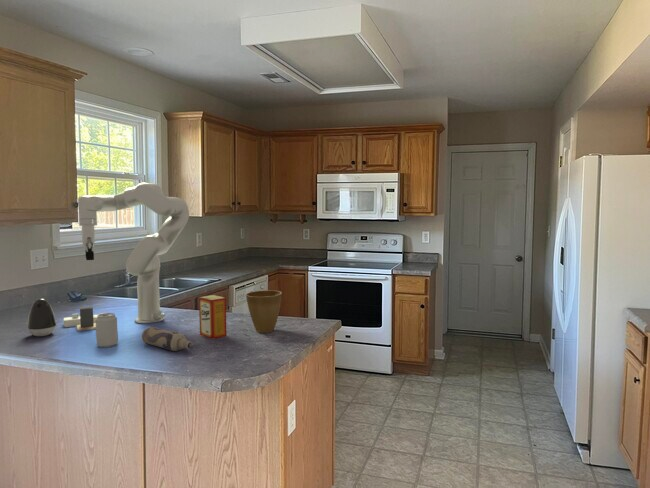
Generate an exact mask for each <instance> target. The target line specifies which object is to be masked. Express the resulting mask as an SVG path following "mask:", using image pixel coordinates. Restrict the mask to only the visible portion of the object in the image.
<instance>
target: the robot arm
mask: <svg viewBox="0 0 650 488" xmlns="http://www.w3.org/2000/svg"><path fill="white" fill-rule="evenodd" d="M77 198H78V199H77V203H78V204H77V205H78V223H79V227H81V241H82V242H81V244H82V247H83V248H85V251H84V252H85V260H86V261H93V260H95V251H94V246H95V242H96V241H95V238H96V237H95V235H96V234H95V226H98V216H97V212H99V213H100V212H102V213H103V212H115V211H120V210H125V209H128V208H132V207H138V206H142V205H143V206H144V207H146V208H148V209H149V210H150V211H152V212H154V213H156V214H157V215H158V216H161V217H168V218H167V219H166V220H165V221H164V222H163V223H162V224H161V226H160V228H159V229H158V230H157V231H156V232H155V233H154V234H147V235H145V236H144V237H142V238H141V239H140V240H139V242H138V243H137V245H136V246H135V247H134V249H132V251H131V253H130V255H129V256H128V258H127V260H126V262H125V268H126V271H127V272H128V273H129V274H130V275H132V276H135V277H137V280H136V288H137V289H136V292H137V314H138V316H137V317H136V318H134V322H135V323H138V324H152V323H159V322H162V321H163V320H164V319H165V317H166V313H162V310H161V305H160V304H161V301H160V270H161V260H160V256H161V255H164V254H166V253H168V251H169V249H171V247H172V246H173V244H174V242H175V241H176V240H177V239H178V237H179V235H180V233H181V232H182V231H183V229H184V228H185V227H186V225H187V223H188V221H189V218H190V209H189V206H188V204H187V202H186V201H185V200H184V199H182V198H180V197H177V196H165V195H164V192H163V189H162V187H161V186H160V185H159V184H156V183H153V182H152V183H151V182H141V183H138V184H137V185H136V186H132V187H128V188H126V189H124V190H123V192H121V193H116V194H111V195H107V194H98V195H97V194H96V195H80V196H79V197H77Z"/></svg>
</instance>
